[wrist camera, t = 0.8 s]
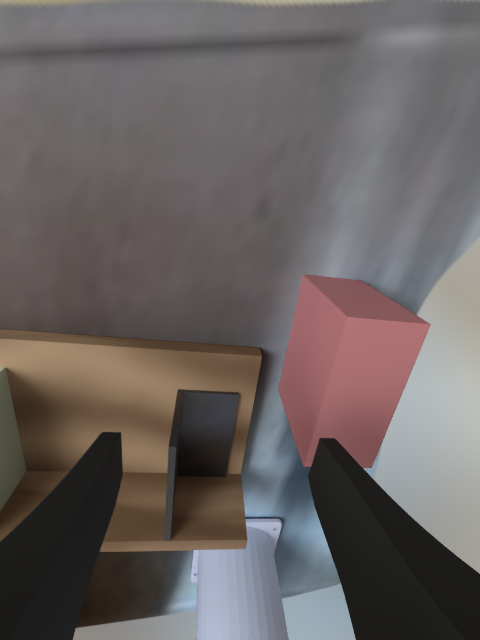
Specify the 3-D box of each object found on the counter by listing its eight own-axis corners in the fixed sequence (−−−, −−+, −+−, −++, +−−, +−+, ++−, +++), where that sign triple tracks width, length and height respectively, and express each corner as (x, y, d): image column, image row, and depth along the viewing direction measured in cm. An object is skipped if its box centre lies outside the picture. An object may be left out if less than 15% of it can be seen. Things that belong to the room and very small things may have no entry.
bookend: (225, 473, 24) (229, 540, 20) (172, 473, 24) (163, 541, 19) (238, 392, 21) (246, 448, 17) (177, 389, 21) (168, 446, 16)
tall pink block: (327, 391, 24) (371, 468, 17) (277, 389, 23) (303, 466, 17) (360, 280, 20) (430, 324, 14) (302, 274, 20) (347, 317, 13)
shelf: (237, 470, 26) (245, 549, 20) (-20, 466, 23) (-93, 555, 18) (259, 347, 21) (277, 406, 16) (-60, 324, 19) (-176, 385, 13)
